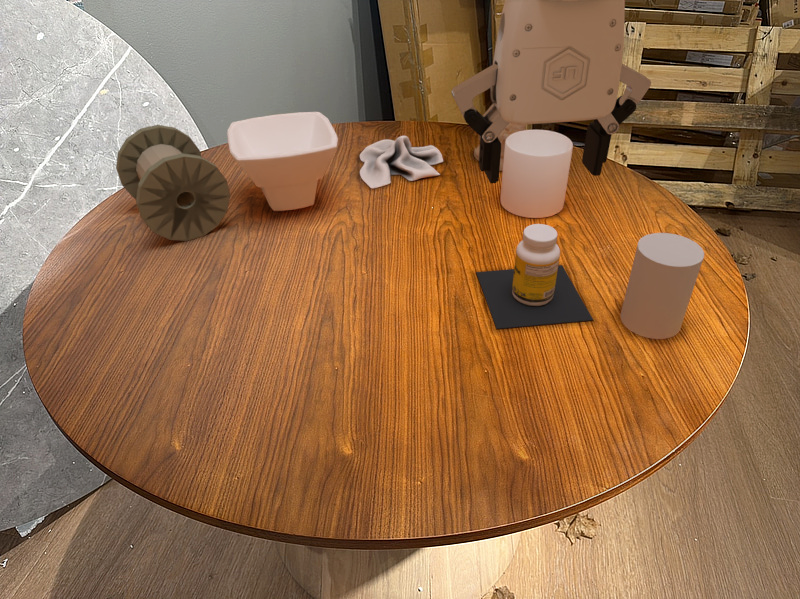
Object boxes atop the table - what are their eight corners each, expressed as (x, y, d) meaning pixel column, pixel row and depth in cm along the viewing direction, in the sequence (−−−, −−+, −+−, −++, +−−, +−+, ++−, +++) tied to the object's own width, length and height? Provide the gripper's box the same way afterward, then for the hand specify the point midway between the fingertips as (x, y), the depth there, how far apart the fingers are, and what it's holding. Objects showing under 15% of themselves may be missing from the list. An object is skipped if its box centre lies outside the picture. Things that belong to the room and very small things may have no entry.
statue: (556, 110, 124) (520, 104, 119) (533, 176, 131) (498, 174, 125) (518, 93, 133) (483, 87, 127) (498, 156, 139) (464, 153, 134)
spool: (130, 211, 117) (105, 136, 108) (207, 190, 123) (190, 117, 114) (152, 251, 105) (127, 170, 96) (236, 225, 112) (219, 147, 102)
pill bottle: (514, 280, 96) (520, 218, 89) (554, 285, 94) (564, 223, 88) (508, 304, 91) (515, 240, 84) (551, 310, 90) (561, 246, 83)
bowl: (330, 174, 127) (323, 108, 119) (349, 219, 112) (343, 147, 104) (238, 187, 123) (224, 120, 115) (246, 236, 109) (231, 162, 100)
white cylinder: (522, 182, 122) (528, 124, 115) (575, 200, 116) (585, 139, 109) (488, 205, 115) (492, 144, 108) (542, 225, 109) (550, 162, 102)
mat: (562, 265, 99) (562, 264, 99) (593, 320, 88) (593, 319, 88) (476, 273, 98) (476, 272, 98) (496, 329, 87) (496, 328, 87)
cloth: (367, 142, 140) (365, 115, 136) (448, 146, 137) (449, 119, 133) (342, 187, 123) (340, 158, 119) (435, 193, 120) (435, 163, 116)
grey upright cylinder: (693, 324, 87) (717, 252, 79) (655, 346, 83) (677, 274, 76) (645, 296, 92) (664, 226, 85) (608, 316, 89) (624, 245, 81)
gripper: (465, -15, 44) (457, 199, 55) (697, -27, 45) (646, 184, 56) (447, -33, 50) (443, 162, 60) (652, -43, 51) (614, 150, 62)
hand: (540, 173), depth 58 cm, fingers open, 9 cm apart
